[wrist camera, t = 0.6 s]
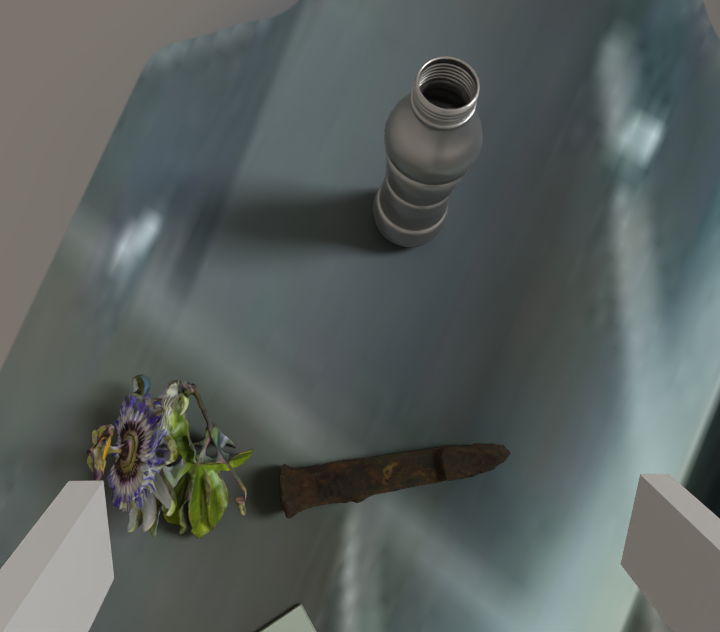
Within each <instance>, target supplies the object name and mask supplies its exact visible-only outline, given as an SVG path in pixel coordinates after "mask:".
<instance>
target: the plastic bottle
mask: <svg viewBox="0 0 720 632" xmlns="http://www.w3.org/2000/svg"><path fill="white" fill-rule="evenodd" d="M479 90H480V84H479V79H478V76H477V74H476V72H475V71H474V70H473V68H472V67H471V66H470V65H469V64H467V63H466V62H464V61H462V60H460V59H458V58H455V57H450V56H441V57H436V58H432V59H430V60H428V61H427V62H425V63H424V64H423V65H422V66H421V68H420V69H419V71H418V73H417V75H416V79H415V84H414V86H413V88H412V92H411V93H410V94H408V95H406V96H405V97H404V98H402V99H401V100H400V101H399V102H398V103H397V105H396V106H395V107H394V109H393V110H392V111H391V113H390V114H389V117H388V119H387V121H386V125H385V135H384V140H385V152H386V161H387V162H386V175H385V177H384V180H383V183H382V184H381V186H380V187H379V189H378V191H377V194H376V196H375V198H374V202H373V215H374V219H375V223H376V225H377V227H378V230H379V231H380V232H381V234H382V235H383V236H384V237H385V238H386V239H387V240H389V241H390V242H392V243H394V244H396V245H399V246H403V247H418V246H421V245H424V244H426V243H428V242H429V241H431V240H432V239H433V238H435V237H436V236H437V235H438V234H439V233H440V232H441V230H442V229H443V227H444V225H445V222H446V219H447V213H448V203H449V199H450V195H451V193H452V192H453V190H454V188H455V187H456V185H457V184H458V182H459V181H460V180H461V179H462V178H463V177H464V176H465V175H466V173H467V172H468V171H469V170H470V169H471V167H472V166H473V164H474V163H475V161H476V160H477V158H478V156H479V154H480V151H481V147H482V125H481V122H480V119H479V116H478V114H477V113H476V111H475V109H476V103H477V98H478V95H479Z"/></svg>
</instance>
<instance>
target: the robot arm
mask: <svg viewBox="0 0 720 632" xmlns="http://www.w3.org/2000/svg"><path fill="white" fill-rule="evenodd" d="M621 565H622V566H623V568H624V569H625V570H626V572H627V573H628V574H629V576H630V577H631V578H632V580H633V581H634V582H635V584H636V585H637V586H638V587H639V589H640V590H641V591H642V593H643V594H644V595H645V597H646V598H647V599H648V601H649V602H650V603H651V604H652V606H653V607H654V608H655V610H656V611H657V612H658V614H659V615H660V616H661V618H662V619H663V620H664V621H665V623H666V624H667V625H668V627H669V628H670V629H671V631H672V632H720V519H719V518H718V517H717V516H716V515H715V514H713V513H712V512H711V511H710V510H709V509H708V508H707V507H706V506H704V505H703V504H702V503H701V502H700V501H699V500H698V499H696V498H695V497H694V496H693V495H692V494H691V493H690V492H688V491H687V490H686V489H685V488H684V487H683V486H682V485H680V484H679V483H678V482H677V481H676V480H675V479H674V478H672V477H671V476H670V475H669V474H640V478H639V483H638V487H637V492H636V496H635V501H634V506H633V510H632V515H631V519H630V524H629V528H628V533H627V537H626V542H625V547H624V551H623V556H622V560H621ZM113 580H114V573H113V564H112V555H111V546H110V537H109V527H108V518H107V509H106V500H105V491H104V482H103V481H68V483H67V484H66V485H65V487H64V488H63V489H62V490H61V492H60V493H59V494H58V496H57V497H56V498H55V499H54V501H53V502H52V503H51V505H50V506H49V507H48V508H47V510H46V511H45V512H44V514H43V515H42V516H41V518H40V519H39V520H38V521H37V523H36V524H35V525H34V527H33V528H32V529H31V530H30V532H29V533H28V534H27V536H26V537H25V538H24V539H23V541H22V542H21V543H20V545H19V546H18V547H17V549H16V550H15V551H14V552H13V554H12V555H11V556H10V558H9V559H8V560H7V561H6V563H5V564H4V565H3V567H2V568H1V569H0V632H88V631H89V629H90V627H91V625H92V623H93V621H94V619H95V617H96V615H97V613H98V611H99V608H100V606H101V604H102V602H103V600H104V598H105V596H106V594H107V592H108V590H109V588H110V586H111V584H112V582H113Z"/></svg>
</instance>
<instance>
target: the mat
mask: <svg viewBox="0 0 720 632" xmlns="http://www.w3.org/2000/svg"><path fill="white" fill-rule="evenodd" d="M259 632H317V631H316V630H315V628H314V626H313V624H312V622H311V620H310V619H309V617H308V615H307V613H306V611H305V609H304V608H303V606H302V604H299V605H298V606H296V607H295V608H293V609H292V610H290V611H289V612H287V613H286V614H284V615H283V616H281V617H280V618H278V619H277V620H275V621H274V622H272V623H271V624H269V625H268V626H267V627H265V628H264V629H262V630H261V631H259Z"/></svg>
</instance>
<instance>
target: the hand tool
mask: <svg viewBox="0 0 720 632" xmlns="http://www.w3.org/2000/svg"><path fill="white" fill-rule="evenodd" d="M509 455H510V451H509V450H507V449H506V448H505V446H504V445H499V444H481V443H479V444H478V443H475V444H473V445H463V446H462V445H459V446H458V445H445V446H441V447H436V448H432V449H424V450H416V451H408V452H402V453H394V454H387V455H381V456H376V457H370V458H361V459H353V460H342V461H337V462H332V463H326V464H323V465H315V466H311V467H305V468H297V469H296V468H290V467H289V466H287V465H286V464H284V465H282V466H281V468H280V472H279V487H280V501H281V504H282V507H283V510H284V512H285V515H286V518H292V517H293V516H294V515H296V514H297V513H298V512H301V511H302V510H305V509H307V508H310V507H313V506H319V505H325V504H331V503H347V502H349V501H352V502H356V503H359V502H362V501H363V500H365V499H366V498H368V497H370V496H372V495H375V494H380V493H385V492H391V491H397V490H401V489H405V488H410V487H414V486H419V485H425V484H431V483H438V482H442V481H445V480H447V481H452V480H456V479H463V478H467V477H473V476H476V475H478V474H481V473H485V472H487V471H491V470H493V469H494V468H495V467H497V466H498V465H499V464H501V463H503V462H504V461H505V460H506V459H507V458H508V456H509Z"/></svg>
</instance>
